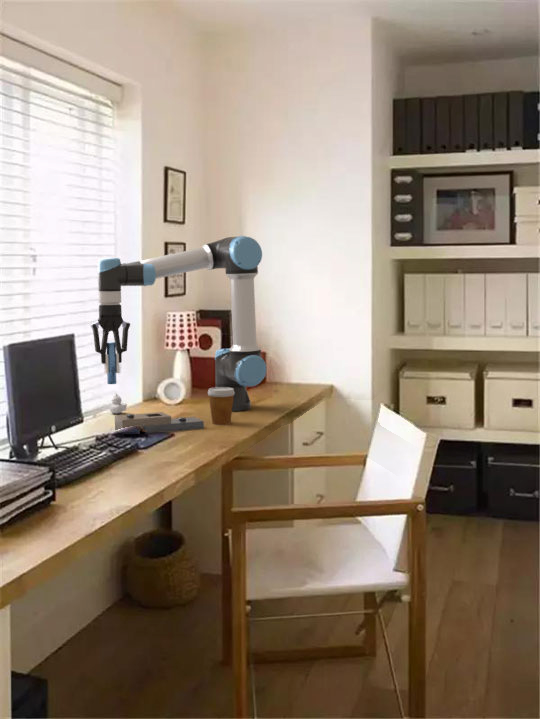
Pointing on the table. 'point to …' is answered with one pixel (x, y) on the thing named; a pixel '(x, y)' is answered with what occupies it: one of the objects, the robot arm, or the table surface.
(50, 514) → the table surface
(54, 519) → the table surface
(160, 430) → the grey fixture block
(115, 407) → the rubber duck
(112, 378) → the pin
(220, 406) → the disposable coffee cup
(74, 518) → the table surface
